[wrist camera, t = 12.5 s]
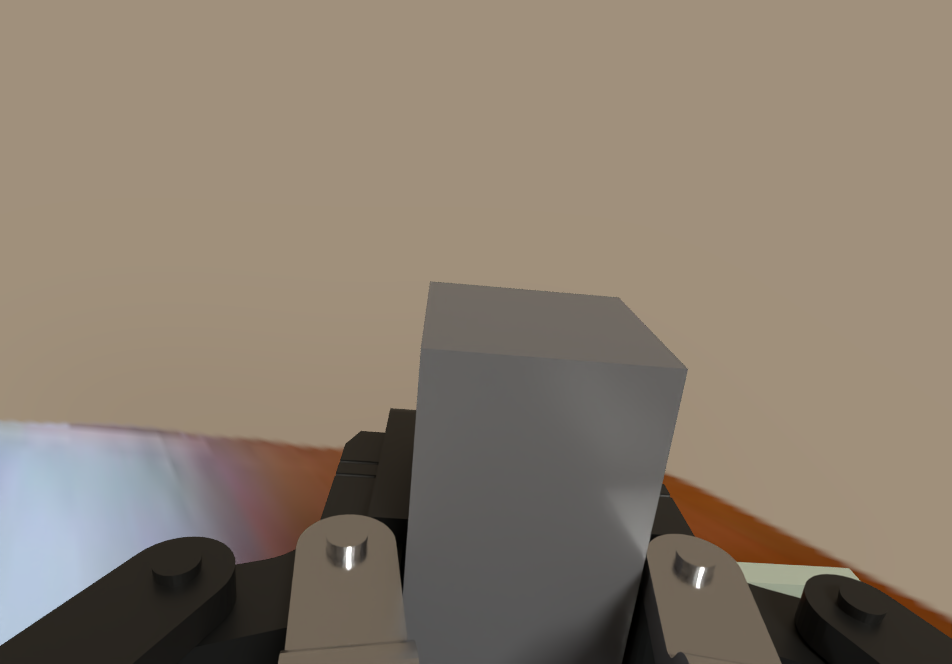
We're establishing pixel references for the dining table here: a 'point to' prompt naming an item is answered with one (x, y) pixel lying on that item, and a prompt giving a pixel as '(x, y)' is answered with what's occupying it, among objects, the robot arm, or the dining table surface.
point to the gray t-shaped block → (533, 475)
